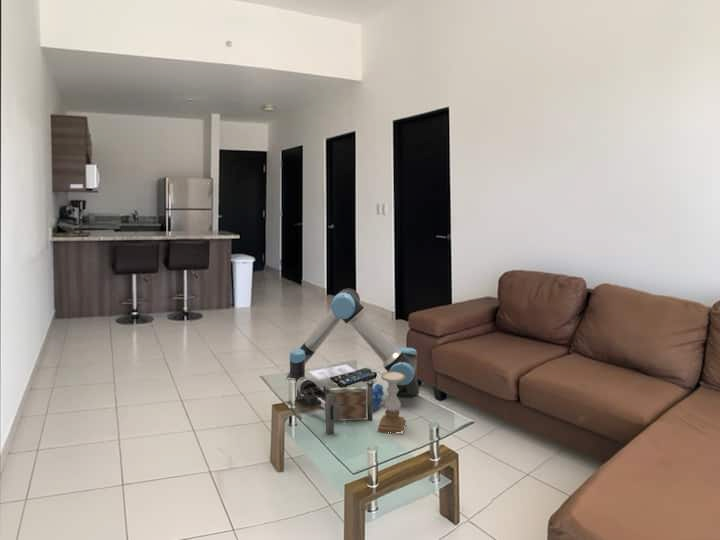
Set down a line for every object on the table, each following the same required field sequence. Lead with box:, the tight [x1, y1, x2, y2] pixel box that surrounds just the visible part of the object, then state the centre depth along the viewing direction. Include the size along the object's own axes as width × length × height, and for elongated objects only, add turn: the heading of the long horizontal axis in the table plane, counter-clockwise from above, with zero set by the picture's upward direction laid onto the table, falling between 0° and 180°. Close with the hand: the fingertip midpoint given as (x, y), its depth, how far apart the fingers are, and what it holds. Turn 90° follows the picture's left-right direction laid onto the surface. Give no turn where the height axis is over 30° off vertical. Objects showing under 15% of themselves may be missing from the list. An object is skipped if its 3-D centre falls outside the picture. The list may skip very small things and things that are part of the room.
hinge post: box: [366, 380, 375, 422], centre depth 236 cm, size 3×3×18 cm
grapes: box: [373, 383, 385, 412], centre depth 248 cm, size 12×7×12 cm, turn 151°
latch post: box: [325, 393, 340, 435], centre depth 223 cm, size 4×4×17 cm
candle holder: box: [377, 371, 407, 434], centre depth 228 cm, size 11×11×24 cm
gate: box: [324, 386, 367, 420], centre depth 235 cm, size 18×2×14 cm, turn 96°
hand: (331, 404), depth 237 cm, fingers open, 5 cm apart
